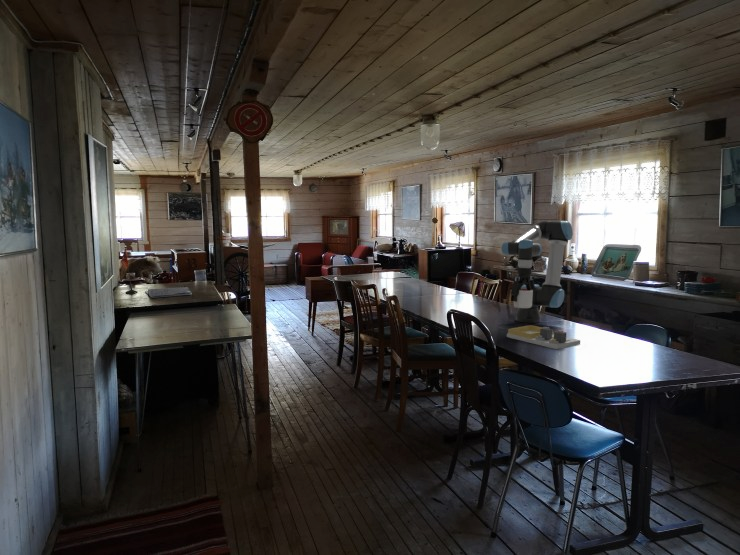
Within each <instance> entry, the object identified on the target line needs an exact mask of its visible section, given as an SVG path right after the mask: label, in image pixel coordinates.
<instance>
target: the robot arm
mask: <svg viewBox="0 0 740 555" xmlns="http://www.w3.org/2000/svg"><path fill="white" fill-rule="evenodd" d="M572 239H573V226H572V224H571V223H570V221H567V220H542V221H539V222H536V223H534V224H532V225H531V226H529V227H528V228H527V230H526V231H525V232H523V233H522V234H520V235H519V236H517V237H516V238H514V239H513V240H512V241H504V242H503V243H502V244H501V253H502V254H503V255H507V256H518V259H517V260H518V261H517V266H518V267H517V275H518V276H516V277H515V276H514V278H513V283H512V288H511V292H510V295H512V296H513V308H517V309H518V310H517V313H516V316H515V321H516V322H518V323H519V322H520V323H525V324H532V323H533V324H536V323H540V322H541V314H540V312H539V307H547V308H560V307H561V305H562V304H563V302H564V299H565V290H564V289H563V287H562V285H561V279H562V278H561V276H562V270H563V261H564V255H565V246H566V245H568V243H569V241H570V240H572ZM538 240H547V242H548V243H549V244H550V245H549V250H548V258H547V267H546V275H545V281H544V282H543V283H542V284H541V286H540V284H538V283H537V284H535V276H531V275H532V273H533V272H532V271H533V270H532V267H533V257H537V256H540V255H541V254H542V251H543V247H542V245H541V244H540V243H537V242H535V241H538ZM520 289H527V290H528V291H531V290H533V296H532V307H531V308H518V305H519V296H518V294H519V290H520Z"/></svg>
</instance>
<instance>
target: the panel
mask: <svg viewBox="0 0 740 555" xmlns="http://www.w3.org/2000/svg"><path fill="white" fill-rule="evenodd" d="M542 328H543V327H542V326H536V325H532V324H531V325H524V326H518V327H512V328H508V330H507V333H506V337H507V338H509V339H514V340H517V341H522V342H525V343H528V344H529V343H530V344H534V345H537V346H543V347H545V348H549V349H553V350H557V349H564V348H569V347H572V346H577V345H581V340H580V339H576V338H573V337H568V336H566V342H564V343H559V341H556V339H554V329H552V339H548V340H546V339H545V338H542V336H540V329H542Z"/></svg>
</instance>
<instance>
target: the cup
mask: <svg viewBox="0 0 740 555" xmlns="http://www.w3.org/2000/svg"><path fill="white" fill-rule="evenodd" d="M518 296H519V305H518V308H517V309H519V308H531V307H532V296H533V290H531V291H528V290H527V289H520V290H519V294H518Z"/></svg>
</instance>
